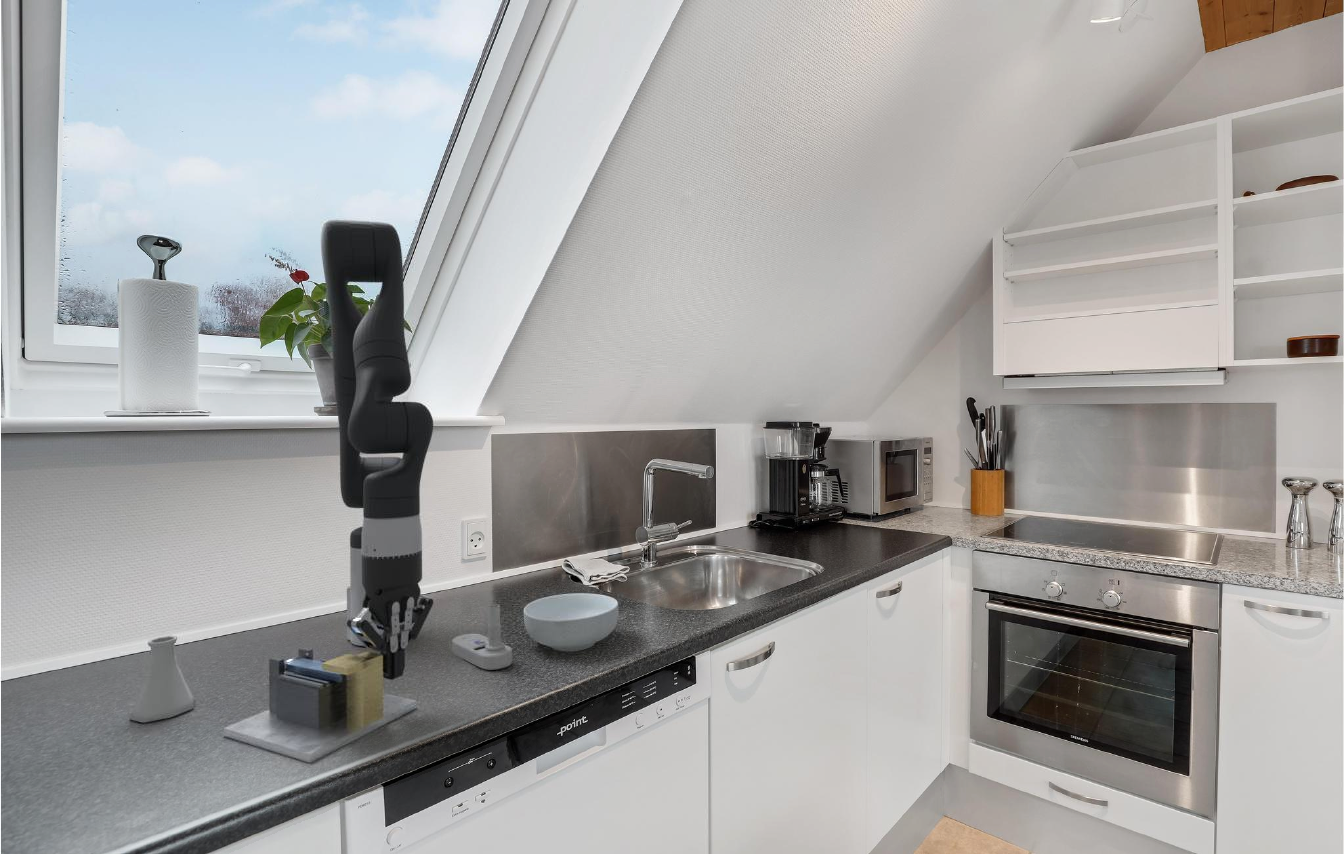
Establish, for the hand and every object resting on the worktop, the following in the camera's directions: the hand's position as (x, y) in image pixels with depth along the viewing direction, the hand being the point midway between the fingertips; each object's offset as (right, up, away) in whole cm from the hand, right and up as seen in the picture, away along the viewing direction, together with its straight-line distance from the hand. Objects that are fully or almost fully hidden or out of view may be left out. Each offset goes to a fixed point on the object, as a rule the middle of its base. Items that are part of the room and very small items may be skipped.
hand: (393, 676), depth 88 cm
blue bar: (-9, +1, -1) cm, 10 cm away
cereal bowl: (+20, -5, +28) cm, 35 cm away
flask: (-32, -6, +1) cm, 33 cm away
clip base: (-8, -5, -2) cm, 10 cm away
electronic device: (+6, -5, +21) cm, 23 cm away
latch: (-3, -4, -5) cm, 7 cm away
